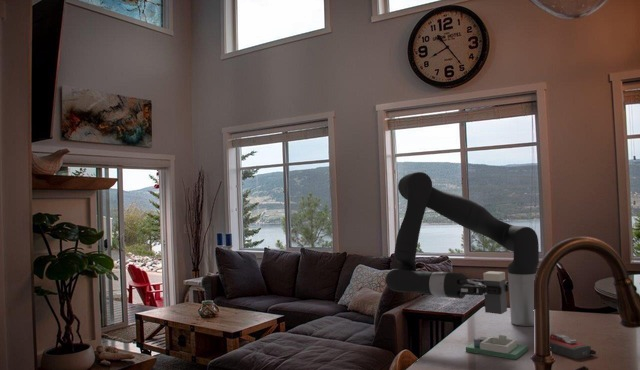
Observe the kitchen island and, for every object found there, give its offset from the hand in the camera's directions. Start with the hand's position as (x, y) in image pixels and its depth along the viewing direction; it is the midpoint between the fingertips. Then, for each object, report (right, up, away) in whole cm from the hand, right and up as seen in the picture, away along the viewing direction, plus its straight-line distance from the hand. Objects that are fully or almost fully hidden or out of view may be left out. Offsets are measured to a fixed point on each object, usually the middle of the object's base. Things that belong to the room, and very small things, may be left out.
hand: (504, 289), depth 138 cm
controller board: (-1, -18, +2) cm, 18 cm away
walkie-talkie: (+17, -18, +2) cm, 24 cm away
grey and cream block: (-2, -7, +1) cm, 7 cm away
